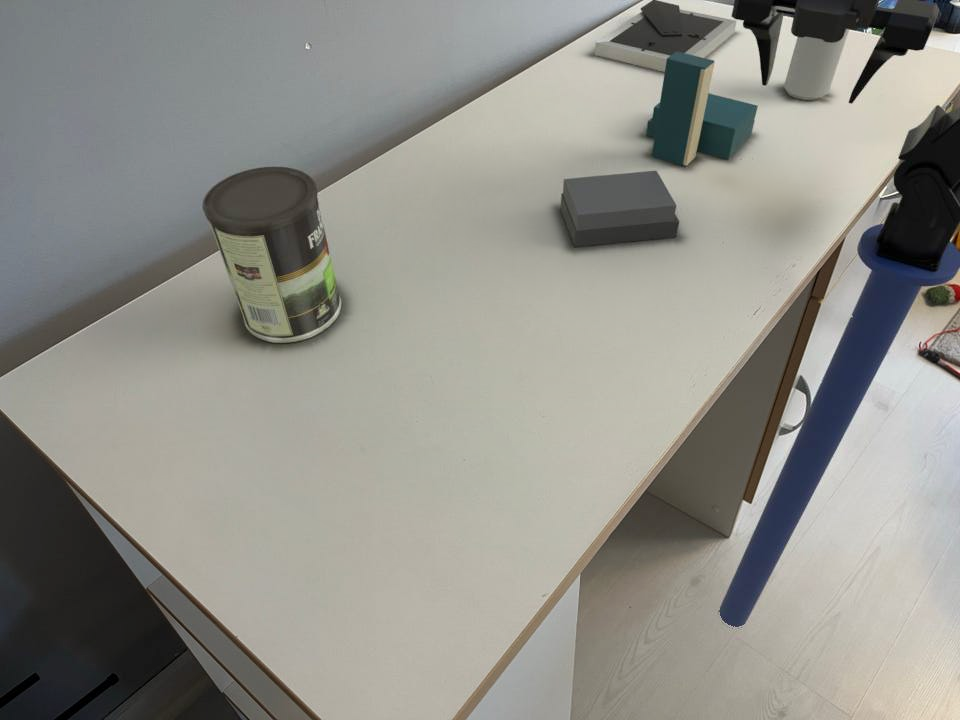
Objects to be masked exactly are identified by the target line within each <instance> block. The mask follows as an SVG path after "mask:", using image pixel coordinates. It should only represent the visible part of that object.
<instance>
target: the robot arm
mask: <svg viewBox="0 0 960 720" xmlns="http://www.w3.org/2000/svg"><path fill="white" fill-rule="evenodd" d="M879 3H880V0H734V2H733V7H732V12H731V18H733V20H736V21H737V20H738V21H743V22H742V27H743V29H745V30H750V31H751V33H752V34H753V36H754V37H755V41H756V45H757V50H758V56H759V65H760V67H759V68H760V75H761V84H762V86H763V87H766V86H767V85H768V84H769V82H770V78H771V76H772V72H773V70H774V64H775V60H776V55H777V50H778V46H779V45H778V44H779V39H780V35H781V29H782V24H783V20H784V15H785V14H786V15H791V16H793V19H792V23H791V28H790V33H791V35H793V37H801V38H804V37H811V38H816V39H822V40H823V41H824V42H829V43H834V42H838V41H840V40H841V39H842V38H843V36H844V34H845V31H846V29H849V31H850V30H851V31H857V29H859V30H868V29H869V28H870V29H876V30H881V31H882V33H881V35H880V37H879V39H878V40H877V42H876V44H875V46H874V48H873V50H872V52H871V54H870V56H869V58H868V59H867V61H866V64H865V66H864V67H863V69H862V71H861V73H860V75H859V77H858V79H857V81H856V83H855V85H854V86H853V89H852V91H851V93H850V96H849V100H848V104H851V105H852V104H854V103H855V101H856V99H857V98H858V97H859V95H860V94H861V92H862V91H863V90H864V89H865V87H866V86H867V85H868V84H869V82H870V81H871V79H872V78H874V75H876V73H877V72H878V71H879V70H880V69H881V68H882V67H883V66H884V65H885V63H887V62H888V61H889V60H890V59H891V58H893V57H894V56H897V57H905V56H906V55H907V54H908V51H909V50H910V51H916V52H917V51H923V50H924V49H925V46H926V45H927V42H928V41H929V38H930V36H931V33H932V31H933V29H934V26H935V24H936V22H937V19H938V17H939V13H940V11H941V10H940V8H939V6H938V3H937V2H933V1H924V0H897V1H896V3H895V5H894V7H893V8H889V7H883V6H879ZM893 185H894V188H895V190H896V192H897V193H898V194H899V195H901V196H900V199H899V201H898V202H892V203H891V205H890V206H889V207H890V208H889V210H888V212H887V214H886V217H885V219H884V221H883V223H882V224H883V226H882V228H881V230H880V233H879V235H878V238H877V243H880V245H879V247H878V250H877V253H876V255H877V256H879V257H882V258H886V259H889V260H893V261H897V262H900V263H904V264H907V265H911V266H915V267H918V268H922V269H926V270H929V271H933V272H936V271H938V269H939V267H940V263H941V259H942V255H943V253H944V252H945V250H946V248H947V246H948V244H949V242H951V240H952V239H953V237H954V235H955V233H956V231H957V229H958V227H959V225H960V106H958V107H956V108H954V109H953V110H951V111H948V112H946V111H945V109H943V108H942V106H940V105H939V104H937V105H936V106H934V108H933V109H932V110H931V111H930V113H929V114H928V115H927V117H926V118H925V119H924V120H923V121H922V122H921V123H920V124H919V125H917V126H916V127H913V128H912V129H909V130H908V132H907V133H906V137H905V139H904V141H903V144H902V147H901V150H900V152H899V154H898V163H897V166H896V168H895V170H894V173H893Z"/></svg>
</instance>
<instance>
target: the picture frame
mask: <svg viewBox="0 0 960 720" xmlns="http://www.w3.org/2000/svg"><path fill="white" fill-rule="evenodd" d="M737 22H738V21H737V19H730V18H725V17H720V16H716V15H711V14H706V13H701V12H695V11H692V10H691V11H690V10H686V9H681V8H680V5H678V4H674V3H669V2H666V1H661V0H651V1H649V2H648V3H646V4H645V5H643V6H641V7H640V12H639V13H637V14H636V15H634V16H633V17H631V18H629V20H626V21H625V22H624V23H622V24H621V25H620V26H618V27H616V28H615V29H613V30H612V31H611V32H609V33H608V34H606V35H604V36H603V37H602V38H600V39H599V40H597V41H595V48H594V56H596V57H602V58H606V59H610V60H614V61H618V62H622V63H626V64H629V65H634V66H639V67H643V68H646V69H650V70H655V71H659V72H661V73H662V72H663V73H665V67H666V61H667V58H668V57H670V56H671V55H672V54H674V53H675V52H676V51H677V52H681V53H685V54H689V55H694V56H698V57H702V58H706V57H708V56H709V55H710V54H711V53H712V52H713V51H715V50H716V49H717V48H718V47H720V46H721V45H722V44H723V43H724V42H725V41H726V40H728V39H729V38H730V37H731V36H733V35H734V33H735V31H736V25H737Z"/></svg>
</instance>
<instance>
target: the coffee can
mask: <svg viewBox="0 0 960 720" xmlns="http://www.w3.org/2000/svg"><path fill="white" fill-rule="evenodd" d="M202 211H203V213H204V216H205V218H206V219H207V221H208V223H209V225H210V228H211V231H212V233H213V236H214V239H215V242H216V245H217V248H218V251H219V253H220V256H221V258H222V259H221V260H222V261H223V265H224V268H225V270H226V272H227V276H228V278H229V281H230V284H231V287H232V289H233V292H234V295H235V298H236V300H237V303H238V306H239V309H240V312H241V315H242V318H243V323H244V325H245V328H246V329H247V331H248V332H249V333H250V334H251V335H252V336H254V337H256V338H257V339H259V340H263V341H265V342H269V343H275V344H276V343H277V344H287V343H296V342H299V341H304V340H308V339H310V338H312V337H315V336H317V335H319V334H321V333H322V332H324V331H325V330H326V329H328V328H329V327H331V326H332V324H333V323H334V322H335V321H336V320H337V318H338V317H339V315H340V312H341V311H342V310H341V309H342V299H341V296H340V293H339V289H338V284H337V279H336V275H335V271H334V266H333V262H332V258H331V253H330V248H329V244H328V243H329V242H328V240H327V235H326V231H325V225H324V222H323V221H324V220H323V217H322V212H321V208H320V204H319V200H318V187H317V184H316V182H315V180H314V179H313V177H311V176H310V175H309V174H307V173H306V172H304V171H302V170H300V169H296V168H292V167H287V166H263V167H262V166H261V167H255V168H251V169H246V170H243V171H239V172H236V173H235V174H232V175H229V176H227V177H226V178H224V179H222V180H220V181H218V182H217V183H216V184H215V185H213V186H212V187H211V188H210V189H209V190H208V191H207V192H206V194H205V196H204V198H203V201H202Z"/></svg>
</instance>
